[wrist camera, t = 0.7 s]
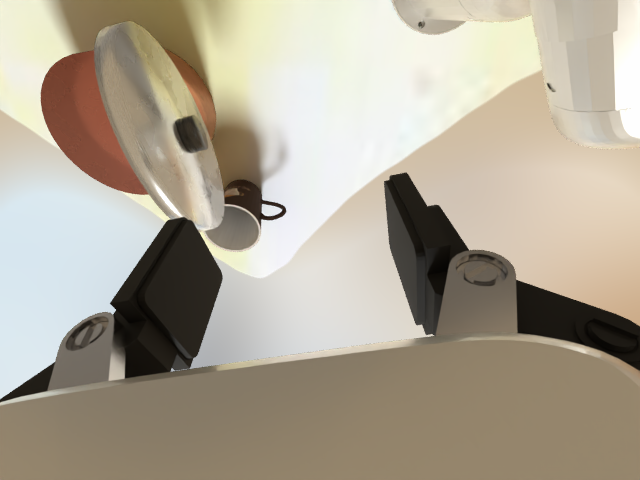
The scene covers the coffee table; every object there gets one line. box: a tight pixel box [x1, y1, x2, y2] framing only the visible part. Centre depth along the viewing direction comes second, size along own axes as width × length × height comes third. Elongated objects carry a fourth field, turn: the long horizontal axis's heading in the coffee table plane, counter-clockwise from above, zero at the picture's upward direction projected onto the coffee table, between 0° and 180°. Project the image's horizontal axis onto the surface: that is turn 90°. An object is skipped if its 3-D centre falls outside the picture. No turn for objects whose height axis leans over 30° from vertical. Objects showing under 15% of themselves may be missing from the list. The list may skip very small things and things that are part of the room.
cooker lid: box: [94, 21, 224, 232], centre depth 27 cm, size 17×17×3 cm
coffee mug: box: [203, 180, 286, 252], centre depth 49 cm, size 12×9×10 cm
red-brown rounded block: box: [41, 49, 216, 195], centre depth 39 cm, size 16×16×11 cm
